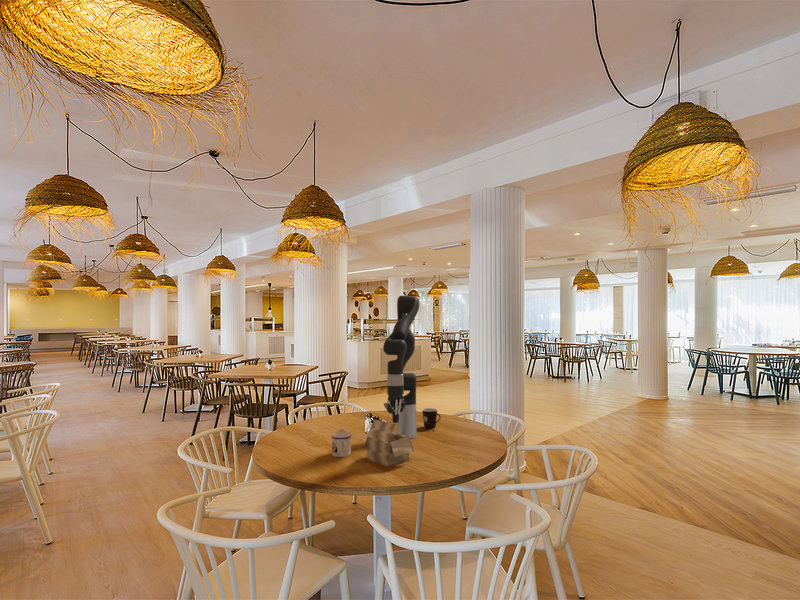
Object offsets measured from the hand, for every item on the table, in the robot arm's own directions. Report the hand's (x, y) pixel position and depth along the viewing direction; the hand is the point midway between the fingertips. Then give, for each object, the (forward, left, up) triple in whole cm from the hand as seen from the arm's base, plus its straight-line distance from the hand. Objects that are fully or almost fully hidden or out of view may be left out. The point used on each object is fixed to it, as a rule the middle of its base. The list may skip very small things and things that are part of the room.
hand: (395, 422), depth 188 cm
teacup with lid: (-20, -15, -16) cm, 30 cm away
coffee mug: (-22, +49, -16) cm, 56 cm away
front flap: (0, -11, -5) cm, 12 cm away
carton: (0, -3, -16) cm, 16 cm away
